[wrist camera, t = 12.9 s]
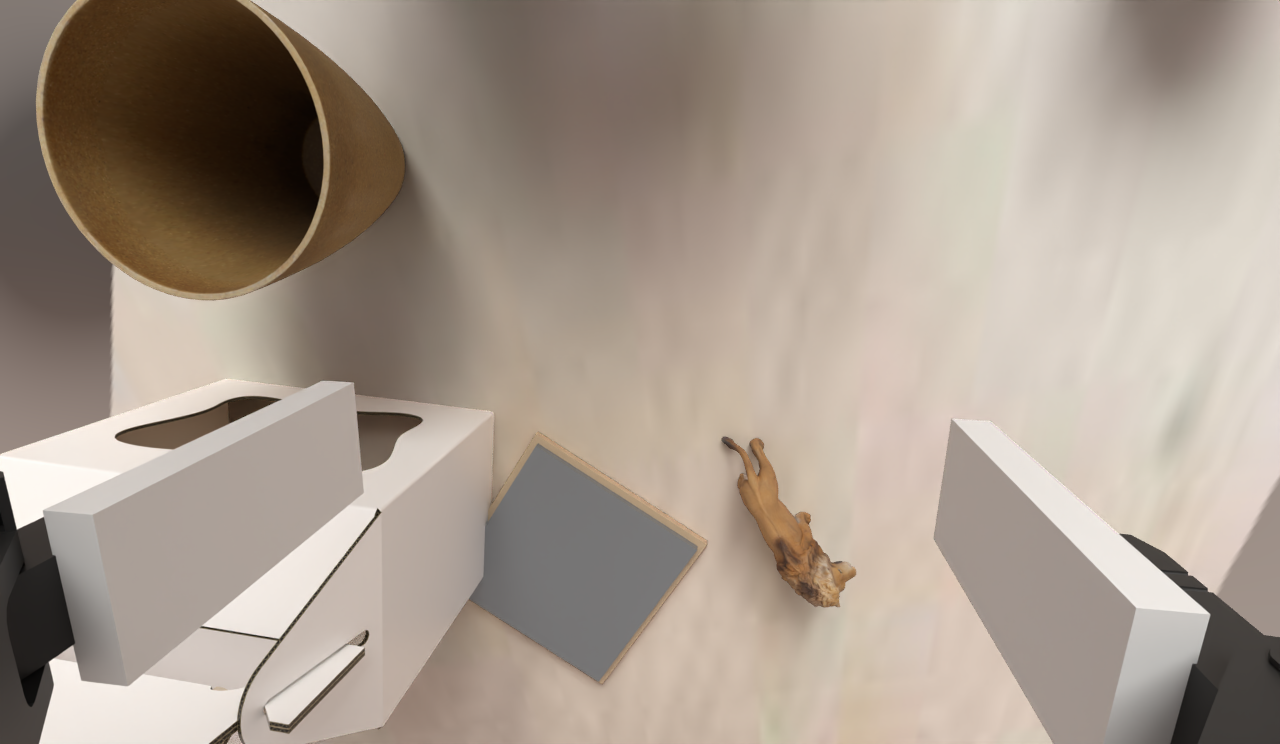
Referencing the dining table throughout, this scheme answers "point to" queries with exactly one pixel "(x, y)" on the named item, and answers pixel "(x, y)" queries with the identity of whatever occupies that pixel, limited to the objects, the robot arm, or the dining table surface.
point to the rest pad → (578, 558)
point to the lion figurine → (789, 534)
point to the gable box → (285, 582)
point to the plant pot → (208, 143)
